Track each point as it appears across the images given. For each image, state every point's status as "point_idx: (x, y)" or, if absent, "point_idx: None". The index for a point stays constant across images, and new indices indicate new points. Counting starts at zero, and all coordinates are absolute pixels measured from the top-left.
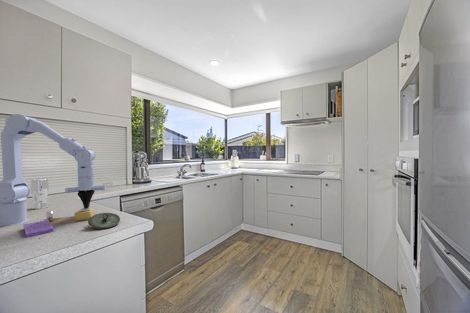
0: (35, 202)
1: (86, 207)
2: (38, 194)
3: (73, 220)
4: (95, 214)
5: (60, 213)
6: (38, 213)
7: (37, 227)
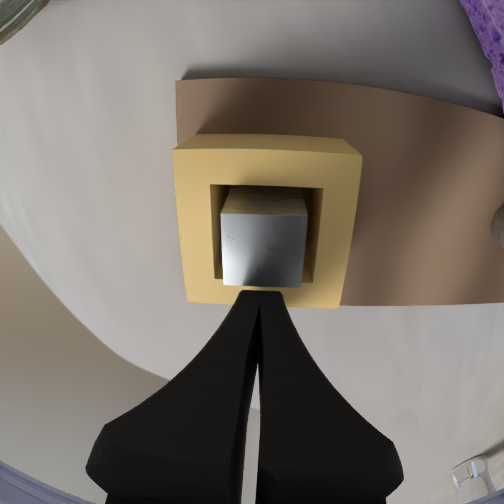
0: (487, 475)
1: (253, 294)
2: None
3: None
4: None
5: (433, 408)
6: (493, 417)
7: None
